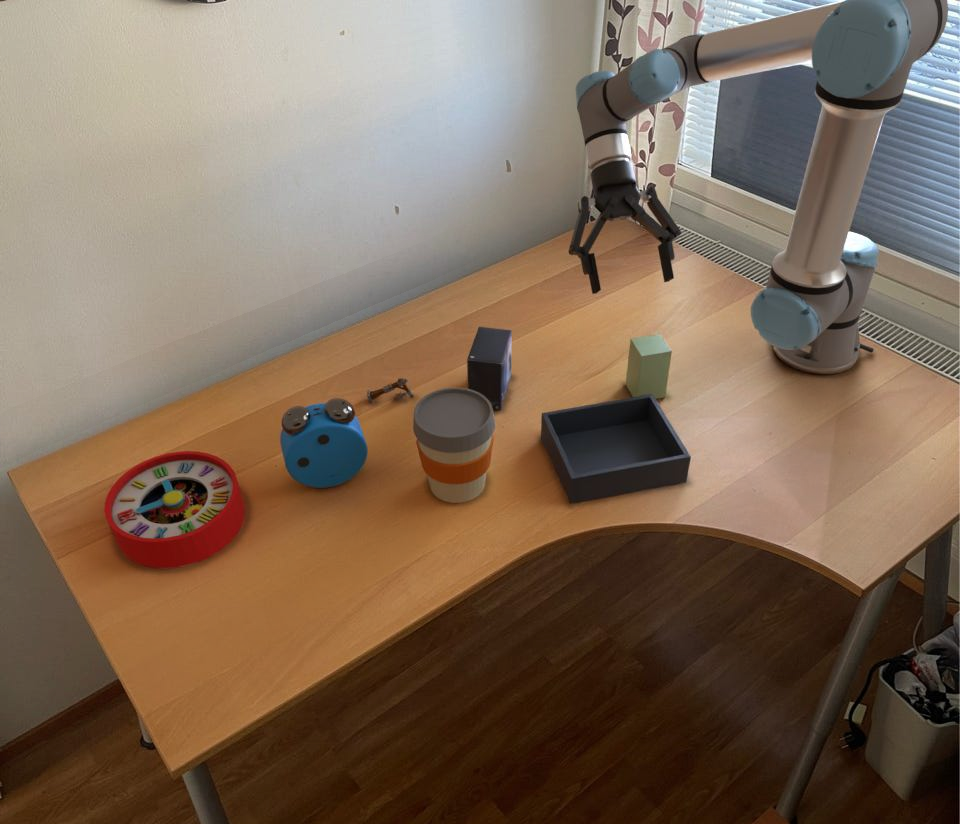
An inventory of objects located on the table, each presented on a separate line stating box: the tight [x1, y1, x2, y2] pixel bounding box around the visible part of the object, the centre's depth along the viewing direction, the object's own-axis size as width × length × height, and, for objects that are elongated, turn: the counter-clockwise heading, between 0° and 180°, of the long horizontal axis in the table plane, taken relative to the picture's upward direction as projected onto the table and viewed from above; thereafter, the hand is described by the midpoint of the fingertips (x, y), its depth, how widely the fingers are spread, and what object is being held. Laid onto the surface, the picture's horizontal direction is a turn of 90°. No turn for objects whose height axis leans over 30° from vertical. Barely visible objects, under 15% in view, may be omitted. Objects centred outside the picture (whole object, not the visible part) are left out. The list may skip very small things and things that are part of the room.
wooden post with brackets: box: [366, 377, 414, 404], centre depth 162 cm, size 2×8×4 cm, turn 92°
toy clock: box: [103, 450, 246, 570], centre depth 141 cm, size 20×6×20 cm
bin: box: [540, 394, 692, 505], centre depth 148 cm, size 20×17×6 cm
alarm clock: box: [279, 397, 369, 489], centre depth 144 cm, size 13×6×15 cm, turn 107°
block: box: [625, 333, 673, 400], centre depth 160 cm, size 6×6×10 cm
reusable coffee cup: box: [412, 387, 496, 504], centre depth 142 cm, size 13×13×15 cm
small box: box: [466, 326, 513, 411], centre depth 160 cm, size 11×6×10 cm, turn 168°
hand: (633, 286), depth 159 cm, fingers open, 13 cm apart
